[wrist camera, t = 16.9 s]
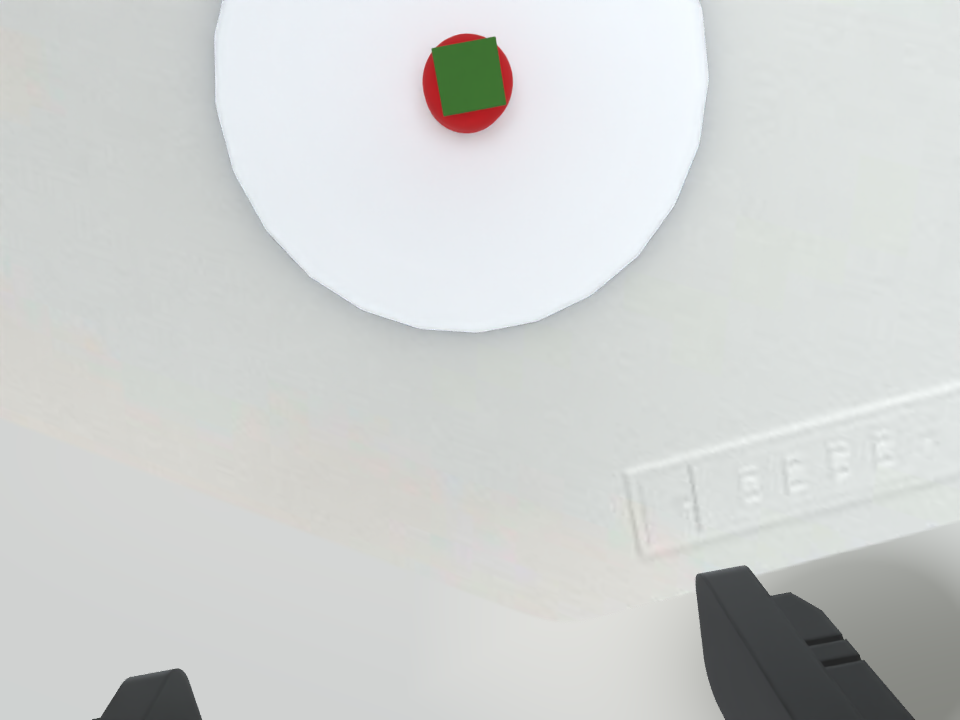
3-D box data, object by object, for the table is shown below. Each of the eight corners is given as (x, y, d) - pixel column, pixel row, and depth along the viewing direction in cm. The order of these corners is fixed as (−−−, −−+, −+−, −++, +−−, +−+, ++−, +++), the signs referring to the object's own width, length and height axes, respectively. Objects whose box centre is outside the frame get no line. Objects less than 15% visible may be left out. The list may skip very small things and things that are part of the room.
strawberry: (433, 140, 37) (430, 135, 32) (416, 52, 36) (411, 33, 31) (514, 125, 37) (524, 117, 32) (500, 37, 36) (509, 15, 31)
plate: (182, -174, 34) (172, -187, 33) (708, -198, 35) (717, -211, 33) (254, 343, 40) (248, 348, 39) (697, 314, 41) (705, 319, 40)
